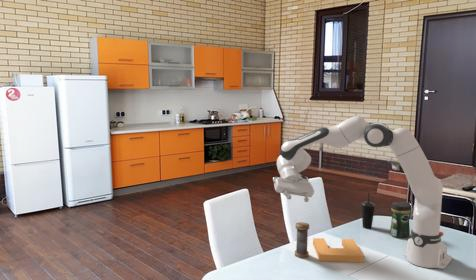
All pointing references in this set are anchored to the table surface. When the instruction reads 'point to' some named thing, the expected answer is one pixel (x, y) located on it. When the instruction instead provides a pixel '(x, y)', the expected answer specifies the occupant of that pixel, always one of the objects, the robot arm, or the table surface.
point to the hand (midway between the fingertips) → (298, 199)
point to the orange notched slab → (338, 251)
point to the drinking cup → (367, 213)
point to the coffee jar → (400, 219)
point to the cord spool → (302, 240)
